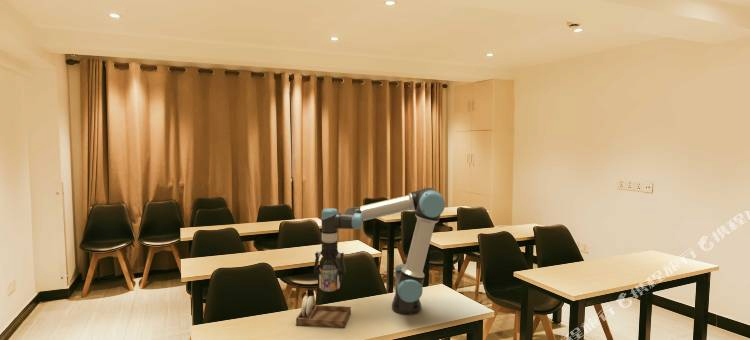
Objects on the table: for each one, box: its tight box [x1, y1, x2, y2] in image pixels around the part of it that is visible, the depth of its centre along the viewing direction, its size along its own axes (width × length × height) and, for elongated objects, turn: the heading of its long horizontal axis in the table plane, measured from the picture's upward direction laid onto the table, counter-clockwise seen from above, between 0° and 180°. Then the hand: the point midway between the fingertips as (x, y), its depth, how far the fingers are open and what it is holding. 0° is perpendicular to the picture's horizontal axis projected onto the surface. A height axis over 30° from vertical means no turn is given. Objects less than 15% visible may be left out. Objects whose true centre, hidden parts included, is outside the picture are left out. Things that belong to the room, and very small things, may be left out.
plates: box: [300, 295, 314, 318], centre depth 215 cm, size 3×10×10 cm, turn 173°
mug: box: [318, 264, 339, 293], centre depth 213 cm, size 12×9×11 cm
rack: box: [295, 304, 352, 329], centre depth 215 cm, size 23×17×4 cm
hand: (329, 287), depth 213 cm, fingers closed on mug, 8 cm apart
